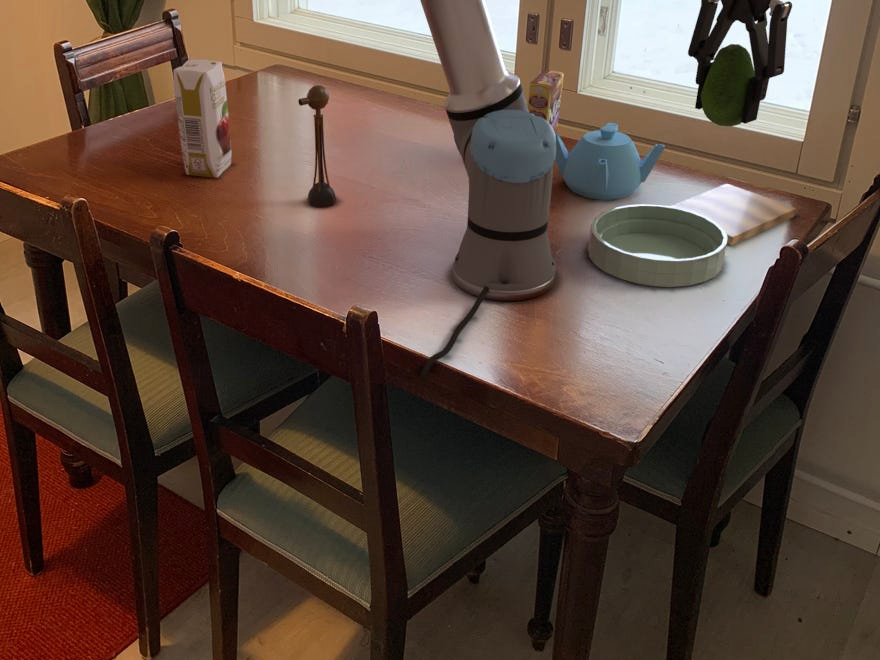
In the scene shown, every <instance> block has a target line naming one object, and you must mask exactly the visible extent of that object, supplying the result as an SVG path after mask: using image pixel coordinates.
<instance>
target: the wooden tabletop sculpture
mask: <svg viewBox="0 0 880 660" xmlns="http://www.w3.org/2000/svg"><path fill="white" fill-rule="evenodd" d="M329 95H330V94H329V91H328V90H327V89H326V87H324V86H323V85H320V84H318V85H313V86H312V87H311V88H309V89H308V92H307V94H306V97H301V98H299V99H298V102H297V103H298V105H299V106H301V107H302V106H306V105H308V106H309V108H310V109H312V110H314V111H315V114H314V115H313V120H314V121H313V124H314V146H315V147H314V148H315V152H314V154H315V155H314V157H315V159H314V176H313V181H312V187H311V188H310V189H309V191H308V194H307V203H308V204H309V206H311V207H314V208H318V209H319V208H320V209H321V208H324V209H325V208H329V207H332V206H334V205H336V203H337V196H336V193H335V191H334V189H333V188H332V186H331V185H330V181H329V176H328V171H327V162H326V153H325V150H326V149H325V136H324V135H325V133H324V132H325V131H324V115H323V114H322V109H324V108H325V107H326V106H327V105H328V103H329V100H330V96H329ZM317 172H318V174H317ZM317 175H318V182H317ZM325 180H326V182H325Z"/></svg>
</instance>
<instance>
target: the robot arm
mask: <svg viewBox="0 0 880 660" xmlns="http://www.w3.org/2000/svg"><path fill="white" fill-rule="evenodd" d="M419 1H420V3H421V4H420V5H421V7H422V10H423V13H424V16H425V19H426V22H427V25H428V29H429V31H430V35H431V37H432V40H433V44H434V47H435V49H436V52H437V55H438V58H439V62H440V64H441V67H442V71H443V73H444V76H445V79H446V82H447V85H448V89H449V92H448V94H447V96H446V98H445V100H444V103H443V106H444V109H445V112H446V114H447V118H448V122H449V124H450V127H451V130H452V134H453V139H454V143H455V146H456V148H457V151H458V153H459V155H460V157H461V159H462V162H463V165H464V168H465V171H466V174H467V178H468V199H467V201H468V202H467V224H466V229H465V232H464V235H463V237H462V240H461V242H460V245H459V248H458V252H457V253H456V255H455V257H454V261H453V264H452V279H453V281H454V283H455V284H456V285H457V286H458V287H459V288H460V289H462V290H463V291H465V292H466V293H468V294H471V295H474V296H476V297H477V298H476V299H475V301H474V303H473V305H472V307H471V308H470V310H469V311H468V313H466V315H465V316H464V318H463V319H462V320H461V321H460V322H459V324H458V325H457V326H456V327H455V329H454V330H453V332H452V334H451V336H450V338H449V341H448V342H447V344H446V345H445V347H444V348H443V349H442V350H440V351H438V352H436V353H435V354H433V355H432V356H430V357H429V358H428V359H427V361H426V362H424V365H423V367H422V369H421V372H420V377H421V378H426V377H427V376H428V373H429V371H430V369H431V368H432V365H433V364H434V363H435V362H436V361H438V360H440V359H442V358H444V357H445V356H446V355H448V354H449V352H450V351H451V350H452V349H453V348H454V345H455V344H456V342H457V339H458V338H459V335H460V334H461V332H462V331H463V330H464V328H465V327H466V326H467V324H468V323H470V321H471V320H472V318H473V317H474V316H475V314H476V313H477V312H478V310H479V308H480V306H481V305H482V303H483V301H484V299H485V300H486V299H488V300H492V301H503V302H513V301H524V300H530V299H534V298H537V297H540V296H542V295H544V294H545V293H547V292H549V291H550V290H551V289H552V288H553V286H554V285H555V282H556V273H557V268H556V262H555V259H554V258H553V254H552V248H551V243H550V242H551V241H550V238H549V233H548V226H549V217H550V209H551V208H550V207H551V199H552V188H553V178H554V169H555V162H556V144H555V143H556V137H555V132H554V130H553V128H552V126H551V125H550V124H549V123H548V122H547V121H546V120H545V119H543V118H542V117H535V115H534V114H533V113H529V111H528V103H527V101H526V98H525V94H524V90H523V87H522V83H521V79H520V77H519V76H518V75H517V74H515V73H513V72H511V71H508V70H507V68H506V66H505V63H504V59H503V55H502V52H501V49H500V46H499V42H498V39H497V38H498V37H497V35H496V31H495V28H494V25H493V21H492V19H491V15H490V11H489V8H488V5H487V1H486V0H419ZM719 2H721V5H722V7H721V10H720V11H719V13H718V15H717V17H716V22H715V24H714V26H713V23H714V20H715V16H716V13H717V10H718V5H719ZM769 9H770V11H769V13H768V15H769V16H770V20H769V26H768V17H767V11H768V10H769ZM792 9H793V4H792V2H791V1H782V0H701V1H700V8H699V12H698V15H697V19H696V22H695V26H694V30H693V33H692V35H691V40H690V43H689V47H688V50H687V55H688V57H690V58H694V59H695V60H696V62H697V68H696V74H695V85H698V86H697V92H696V99H695V105H694V109H696V110H701V109H702V102H701V92H702V89H703V86H704V83H705V80H706V77H707V75H708V73H709V70H710V68H711V66H712V64H713V61H714V59H715V57H716V55H717V53H718V52H719V50H720V47H721V46H722V43H723V42H724V40H725V38H726V37H727V35H728V33H729V32H730V29H731V27H732V25H733V24H734V23H735V22H736V21H738V22H739V23H741V24H744V27H745V30H746V31H747V32H748V37H749V44H750V52H751V59H752V64H753V68H754V72H755V76H754V77H751V78H749V83H748V89H747V94H746V99H745V105H744V110H743V116H742V121H741V122H742V123H741V124H749V123H751V122H754V121H757V119H758V113H759V110H760V104H761V101H763V100H765V98H766V96H767V92H768V86H769V81H770V79H771V78H774V77H777V76H780V75H783V74H784V73H785V64H786V50H787V49H786V47H787V33H788V19H789V17H790V14H791V12H792ZM712 26H713V27H712ZM767 26H768V27H769V28H768V33H767ZM711 29H712V30H711ZM702 110H703V109H702Z"/></svg>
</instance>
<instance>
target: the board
mask: <svg viewBox="0 0 880 660" xmlns="http://www.w3.org/2000/svg"><path fill="white" fill-rule="evenodd" d="M669 206H670V207H676V208H681V209H685V210H689V211H692V212H695V213H698V214H701V215H703V216H706V217H708V218H709V219H711V220H713V221H715V222H716V223H718V224H719V225H720V226H721V227H722V228H723V229H724V230H725V232H726V234H727V237H728V241H727V245H729V246H733V245H736V244H738V243H741V242H742V241H745V240H746V239H749V238H751V237H753V236H755V235H757V234H760V233H762V232H764V231H766V230H768V229H770V228H773V227H775V226H777V225H779V224H781V223H783V222H785V221H786V222H787V220H790V219H792V218H794V217H795V216H796V213H797V207H794V206H791V205H788V204H787V203H782V202H780V201H777V200H774V199H771V198H770V197H766V196H764V195H760V194H758V193H755V192H752V191H749V190H747V189H745V188H741V187H739V186H736V185H732V184H729V183H724V184H721V185H719V186H716V187H714V188H712V189H711V188H710V189H709V190H707V191H704V192H702V193H699V194H697V195H694V196H692V197H690V198H687V199H685V200H682V201H679V202H677V203H674V204H672V205H669Z"/></svg>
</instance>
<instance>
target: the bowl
mask: <svg viewBox="0 0 880 660" xmlns="http://www.w3.org/2000/svg"><path fill="white" fill-rule="evenodd" d="M670 206H671V205H663V204H648V203H647V204H645V203H641V204H639V203H638V204H627V205H622V206H617V207H612V208H609V209H607V210H604V211H602V212H600V213H599V214H598V215H597V216H595V217H594V218H593V220H592V222H591V224H590V230H589V239H588V244H587V245H588V246H587V252H588V257H589V259H590V260H591V262H592V263H593V265H595V266H596V267H597V268H599V269H600V270H602V271H603V272H604V273H606V274H608V275H611V276H613V277H616V278H618V279H620V280H623V281H627V282H631V283H634V284H640V285H645V286H652V287H664V288H665V287H666V288H674V287H676V288H677V287H686V286H687V287H689V286H693V285H698V284H702V283H705V282H707V281H709V280H711V279H713V278H715V277H716V276H717V275H718V274H719V273H720V272H722V269H723V264H724V259H725V254H726V250H727V247H728V246H727V245H728V244H727V241H728V237H727V234H726V232H725V230H724V229H723V228H722V227H721V226H720V225H719V224H718V223H716V222H715V221H713V220H711V219H709V218H708V217H706V216H703V215H701V214H698V213H695V212H692V211H689V210H685V209H681V208H676V207H670Z"/></svg>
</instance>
